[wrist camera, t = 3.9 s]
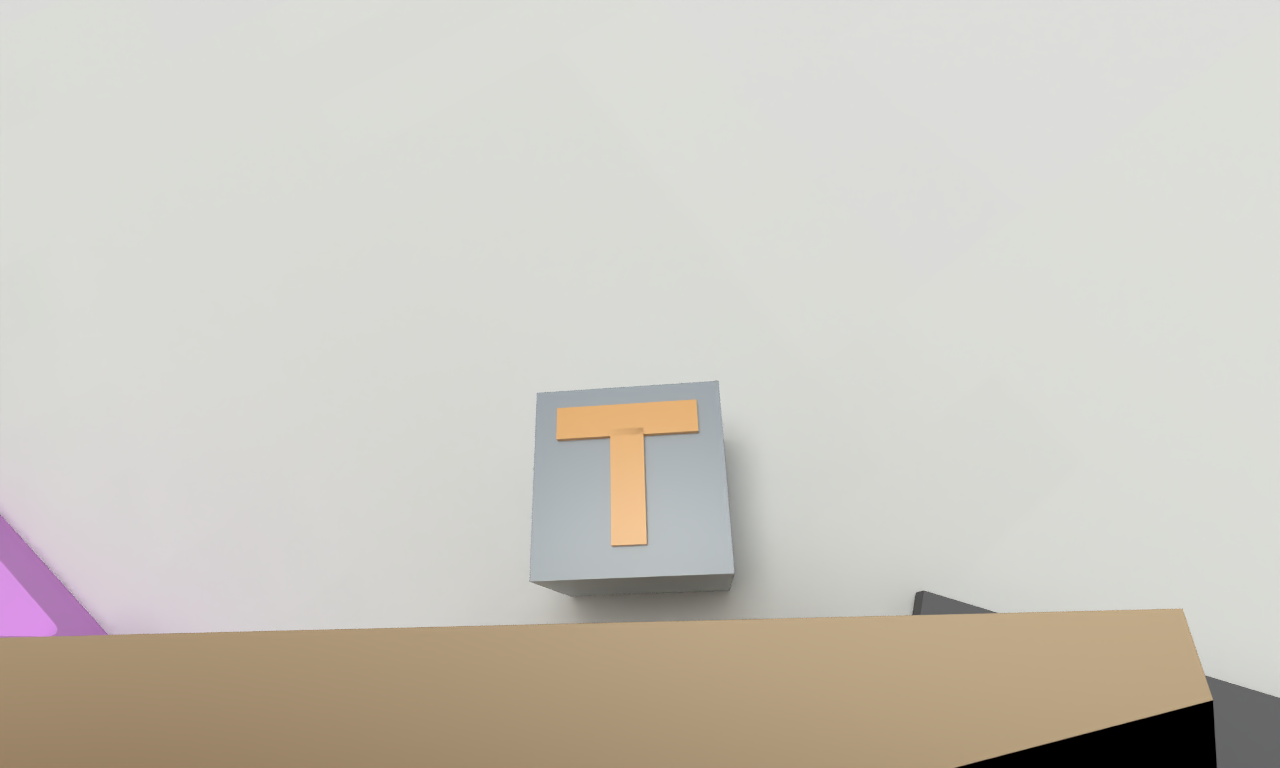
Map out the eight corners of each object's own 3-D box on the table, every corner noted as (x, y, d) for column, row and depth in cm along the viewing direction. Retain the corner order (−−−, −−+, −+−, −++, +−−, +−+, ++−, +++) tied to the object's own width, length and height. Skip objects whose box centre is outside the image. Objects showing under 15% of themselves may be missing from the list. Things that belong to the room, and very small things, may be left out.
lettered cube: (728, 590, 16) (734, 572, 12) (571, 596, 16) (527, 581, 12) (716, 437, 17) (718, 378, 13) (573, 446, 18) (535, 390, 14)
